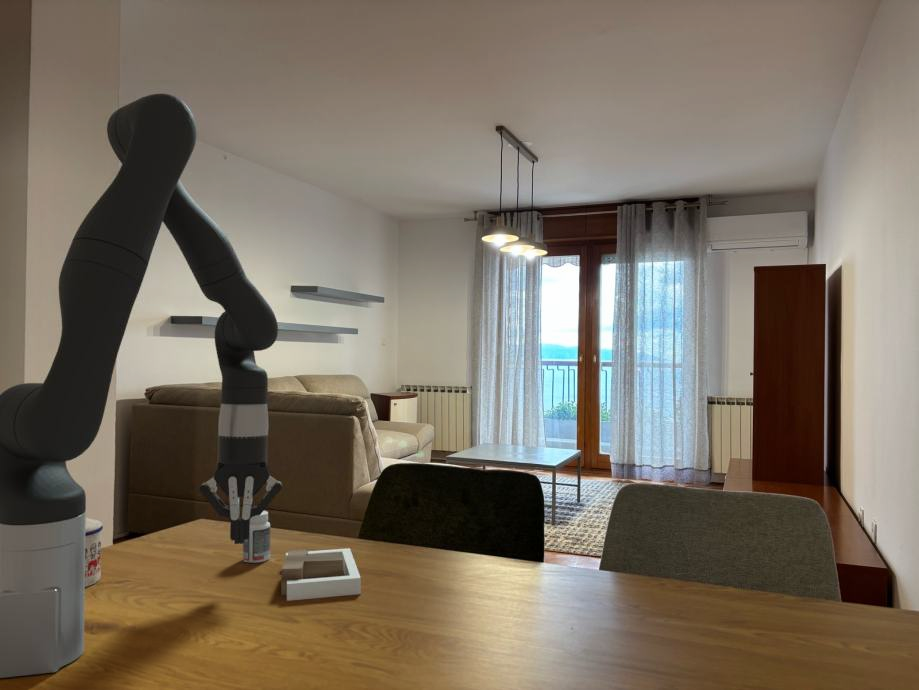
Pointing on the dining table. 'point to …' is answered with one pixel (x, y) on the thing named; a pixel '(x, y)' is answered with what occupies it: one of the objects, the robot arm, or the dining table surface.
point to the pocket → (327, 580)
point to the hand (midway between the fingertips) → (239, 542)
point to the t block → (309, 567)
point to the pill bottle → (258, 540)
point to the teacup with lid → (92, 551)
